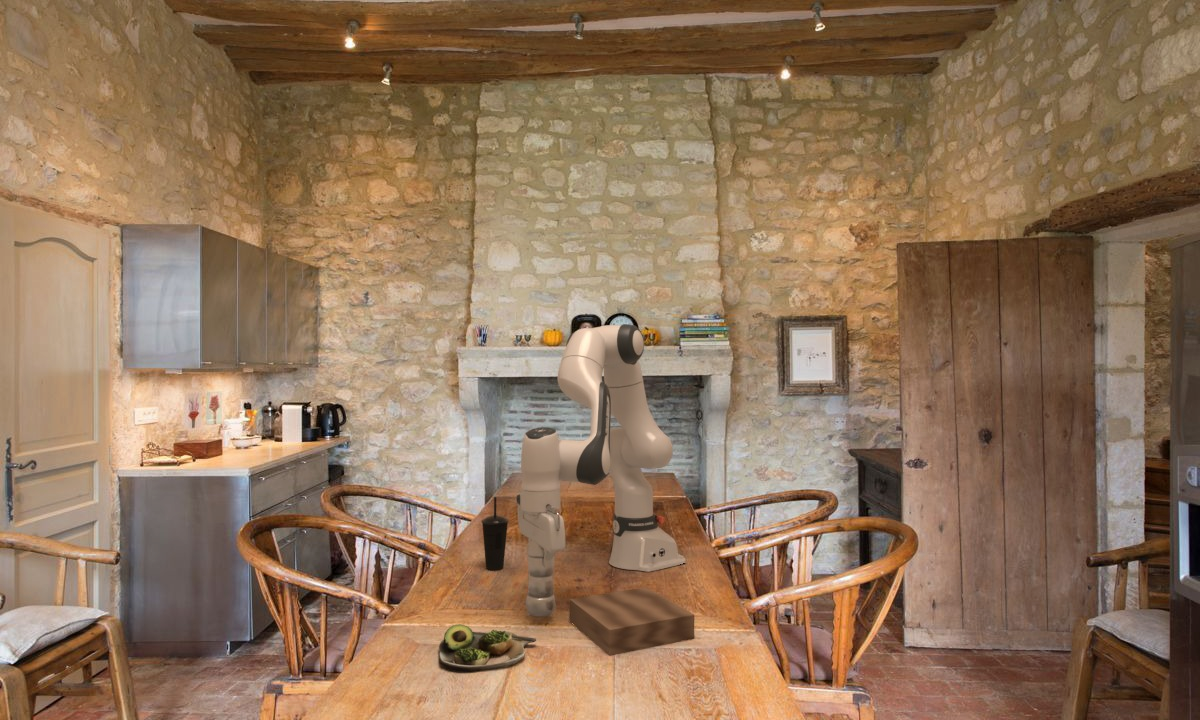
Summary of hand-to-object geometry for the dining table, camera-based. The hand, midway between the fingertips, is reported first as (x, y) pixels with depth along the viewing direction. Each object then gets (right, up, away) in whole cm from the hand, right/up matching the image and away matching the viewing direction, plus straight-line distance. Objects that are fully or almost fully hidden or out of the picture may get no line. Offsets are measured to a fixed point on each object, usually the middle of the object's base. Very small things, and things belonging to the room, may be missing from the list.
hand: (541, 562), depth 155 cm
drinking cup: (-17, -14, +40) cm, 45 cm away
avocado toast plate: (-11, -13, -18) cm, 25 cm away
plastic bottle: (0, -12, 0) cm, 12 cm away
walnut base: (+20, -13, -5) cm, 24 cm away
